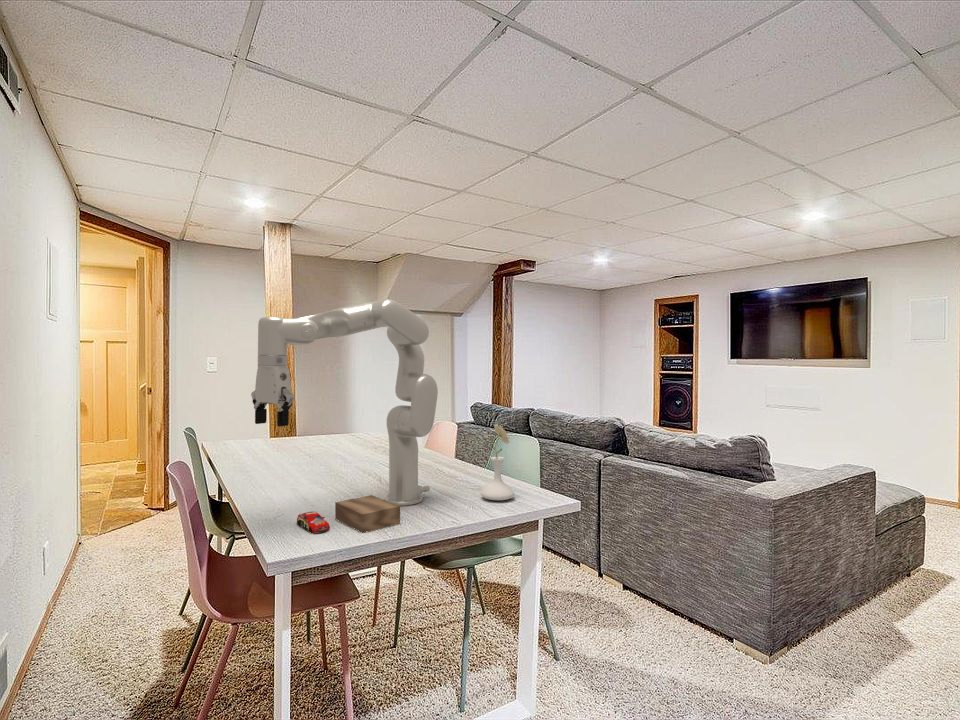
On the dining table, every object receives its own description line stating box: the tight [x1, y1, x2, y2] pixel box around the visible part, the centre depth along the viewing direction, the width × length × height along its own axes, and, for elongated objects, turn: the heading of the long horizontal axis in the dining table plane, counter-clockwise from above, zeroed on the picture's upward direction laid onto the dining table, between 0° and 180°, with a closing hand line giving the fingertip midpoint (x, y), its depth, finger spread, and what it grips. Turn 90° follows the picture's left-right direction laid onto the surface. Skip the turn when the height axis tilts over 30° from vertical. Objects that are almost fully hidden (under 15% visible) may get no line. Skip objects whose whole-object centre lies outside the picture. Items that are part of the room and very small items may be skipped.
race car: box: [296, 511, 331, 534], centre depth 142 cm, size 13×5×4 cm, turn 40°
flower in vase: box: [480, 423, 515, 501], centre depth 173 cm, size 13×11×25 cm
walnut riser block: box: [334, 494, 401, 534], centre depth 147 cm, size 12×16×5 cm
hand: (271, 424), depth 140 cm, fingers open, 9 cm apart
